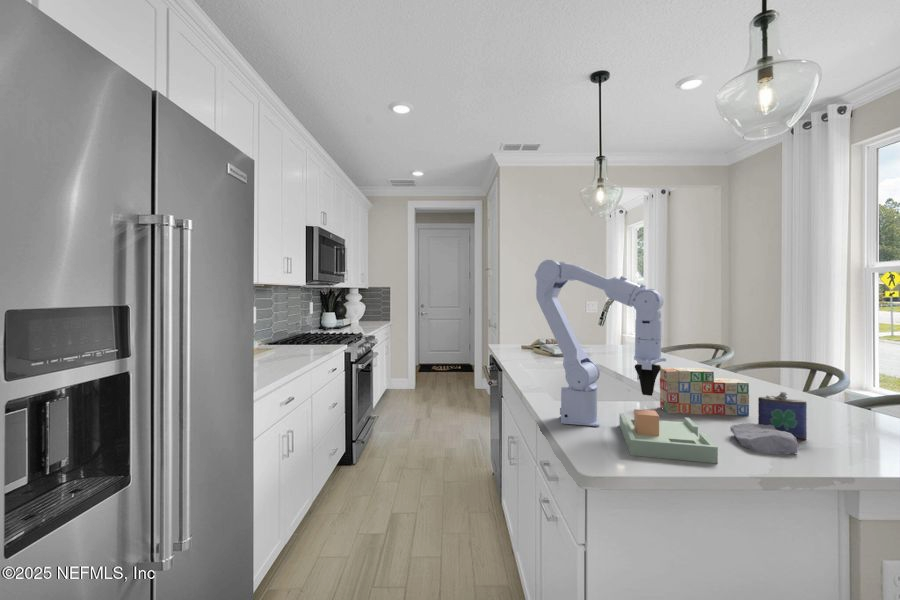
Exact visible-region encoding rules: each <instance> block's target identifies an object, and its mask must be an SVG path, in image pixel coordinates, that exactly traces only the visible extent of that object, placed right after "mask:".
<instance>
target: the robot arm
mask: <svg viewBox="0 0 900 600" xmlns="http://www.w3.org/2000/svg"><path fill="white" fill-rule="evenodd" d="M534 276H535V280H536V288H535V289H536V290H535V291H536V292H535V293H536V294H535V297H536V301H537V303H538V305H539V308H540V309H541V312H542V313H543V316H544V318H545V320H546V322H547V324H548V326H549V329H550V330H551V333H552V334H553V337H554V339H555V341H556V343H557V346H558V347H559V349H560V352H561V354H562V357H563V362H562V365H563V366H562V367H563V369H564V373H565V380H566V382H567V384H568V386H563V387H561V390H560V407H559V415H560V423H561V424H564V425H578V426H588V427H589V426H590V427H591V426H592V427H600V421H599V417H598V386H597V384H596V382H597V381H598V380H599V378H600V373H601V372H600V368H599V367H598V365H597V364H596V363H595V362H594V361H593V360H591V359H592V358H590V355H589V354H588V353H587V352H586V351H585V350H584V349H583V348H582V346H581V344H580V342H579V340H578V338H577V336H576V334H575V332H574V330H573V327H572V325H571V324H570V321H569V319H568V317H567V315H566V313H565V311H564V309H563V307H562V305H561V303H560V301H559V298H558V297H559V294H560V292H561V290H562V288H564V286H565V285H566V284H567V283H568V281H571V282H572V281H578V282H581V283H585V284H586V285H589V286H592V287H595V288H597V289H599V290H603V292H604V293H605V296H606V298H608V299H611V300H613V301H616V302H618V303H619V304H623V305H625V306H627V307H632V308H634V309H635V325H634V328H635V329H634V330H635V332H634V334H635V335H634V337H635V338H634V341H635V342H634V357H633V360H634V361H636V362H638V363H640V364H635V365H634V369H635V371H636V373H637V376H638V379H639V384H640V390H641V394H642V395H643V396H650V397H652V396H653V393H654V390H655V389H654V388H655V385H656V380H657V377H658V375H659V374H660V369H661V365H660V364H657V363H661V362H667V358H666V357H662V319H661V318H662V311H661V309H662V308H663V305H664V298H663V295H662V294H661V293H660V292H659V291H657V290H655V289H653V288H648V289H646V287H647V285H646V284H642V283H641V284H638V283H635V282H632V281H630V280H628V277H626V276H623V275H621V276H613V277H612V278H608V277H606V276H603V275H601V274H599V273H596V272H594V271H591V270H589V269H587V268H585V267H582V266H580V265H576V264H572V263H566V262H565V261H556V260H552V259H544V260H543V261H542V262H541V263H539V265H538V266H537V269H536V271H535V273H534Z"/></svg>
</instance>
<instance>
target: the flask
mask: <svg viewBox="0 0 900 600" xmlns="http://www.w3.org/2000/svg"><path fill="white" fill-rule="evenodd" d="M779 393H780V394H779V395H776V396H774V395H770V396H769V395H766V396H758V401H757V402H758V403H757V405H758V418H757V420H758V423H757V424H760V425H761V424H762V425H773V426H774V427H775V429H777V430H778V431H785V432H789V433H791V434H792V435H793V436H794V437H796V440H797V441H806V440H807V436H808V435H807V434H808V433H807V428H808V427H807V420H808V419H807V418H808V417H807V415H808V414H807V409H808V408H807V406H808V404H807V401H806V400H802V399H792V398H788V396H787V395H788V393H787V392H785V391H779Z"/></svg>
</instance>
